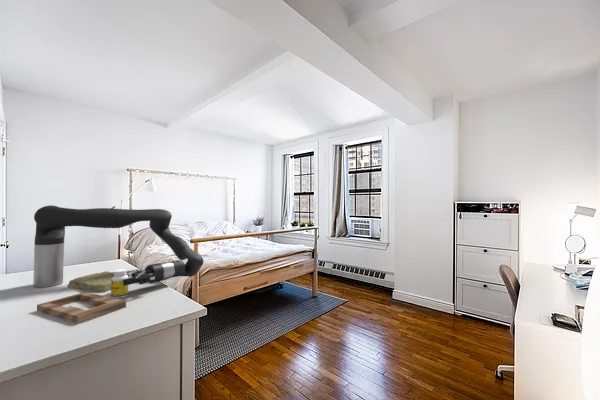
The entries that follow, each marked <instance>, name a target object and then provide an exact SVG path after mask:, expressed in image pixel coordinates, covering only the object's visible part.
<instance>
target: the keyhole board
mask: <svg viewBox="0 0 600 400" xmlns="http://www.w3.org/2000/svg"><path fill="white" fill-rule="evenodd" d="M78 301H82V302H86V303H90V304H91V305H92V307H93V308H92V307H91V308H89V309H85V308H84V309H83V308H80V307H77V306H76V307H75V306H73V305H69V306H67V307H66V306H65V305H68V304H71V303H76V302H78ZM126 307H127V301H126V300H122V299H120V298H117V299H115V298H111V296H106V295H105V296H104V295H101V294H96V293H91V292H89V291H88V292H87V291H83V292H79V293H76V294H72V295H68V296H65V297H62V298H58V299H53V300H50V301H46V302H43V303H39V304H37V305H36V312H39V313H42V314H46V315H49V316H52V317H56V318H59V319H62V320H66V321H69V322H72V323H76V324H79V325H80V324H83V323H86V322H88V321H90V320H93V319H96V318H100V317H102V316H106V315H108V314H112V313H113V312H116V311H118V310H121V309H124V308H126Z"/></svg>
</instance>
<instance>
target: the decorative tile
mask: <svg viewBox="0 0 600 400" xmlns="http://www.w3.org/2000/svg"><path fill="white" fill-rule="evenodd" d="M127 275H128V274H127ZM112 276H114V271H113V272H110V271H101V272H95V273H91V274H88V275H83V276H80V277H79V276H78V277H76V278H74V279H71V280H69V282H68V284H67V285H66V286H67V287H66V288H70V289H79V290H83V291H88V292H96V293H97V292H100V293H107V292H109V291H110V292H111V279H112ZM132 278H133V277H132Z"/></svg>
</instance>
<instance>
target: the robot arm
mask: <svg viewBox="0 0 600 400" xmlns="http://www.w3.org/2000/svg"><path fill="white" fill-rule="evenodd" d="M33 219H34V222H35V235H34V245H33V246H34V247H33V249H34V250H33V251H34V252H33V253H34V255H33V276H32V277H33V282H32V284H33V285H32V286H33V288H47V287H48V288H49V287H55V286H58V285H62V284H63V283H64V267H65V265H64V263H65V262H64V259H65V258H64V257H65V237H66V235H65V234H66V228H67V227H84V228H95V229H97V228H98V229H121V228H125V227H127V226H130V225H133V224H135V223H139V222H149V224H148V225H149V228H150V230H151V231H152V232H153V233H154V234H155V235H157V236H158V237H159V238H160V239H161V240H162V241H163V242H164V243H165V244H166V245H167V246H168V247H169V248H170V249H171V251H172V252H173V253H174V255H175V256H176V257H177V258H178V259H179V260H172V261H164V262H157V263H152V264H148V265H146V267H145V269H144V270H143V269H137V268H136V269H133V270H132V269H131V270H126V275H127V274H128V279H124V280H123V285H124V286H126V285H128V286H130V285H134V284H135V285H143V284H144V285H145V284H154V283H157V282H158V283H159V282H162V281H166V280H169V279H172V278H176V277H189V278H190V277H194V276H195V275H197V274H198V273H199V271H200V270H201V268H202V267H203V265H204V258H203V256H202V255H201V254H200V253H198V252H197V251H195V250H194V249H192V248H191V246H189V244H188V243H187V241H185V239H183V237H182V238H181V237H180V236H177V235H175V234H174V233H172V231H171V230H170V228H169V227H170V224H171V220H172V213H171V212H170V211H169V210H167V209H161V208H151V209H150V208H149V209H130V208H129V209H125V208H124V209H123V208H112V207H111V208H109V207H105V208H104V207H102V208H101V207H99V208H94V207H93V208H83V209H81V208H80V209H79V208H71V207H70V208H69V207H68V208H67V207H60V206H56V205H52V204H51V205H45V206H42V207H40V208H38V209H37V211H35V213H34V216H33ZM185 260H186V262H184V261H185ZM114 276H115V275H114ZM114 276H112V277H114ZM132 277H133V278H132Z"/></svg>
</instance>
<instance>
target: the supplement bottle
mask: <svg viewBox="0 0 600 400" xmlns="http://www.w3.org/2000/svg"><path fill="white" fill-rule="evenodd" d="M126 271H127V269H125V268H122V269H121V268H120V269H115V270H113V272H114V275H115V276H114V277H112V279H111V290H110V298H114V299H123V298H126V297H128V295H129V285H126V286H124V285H123V280H124V279H128V275H126Z"/></svg>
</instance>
